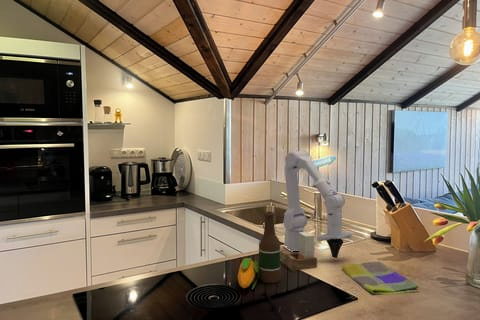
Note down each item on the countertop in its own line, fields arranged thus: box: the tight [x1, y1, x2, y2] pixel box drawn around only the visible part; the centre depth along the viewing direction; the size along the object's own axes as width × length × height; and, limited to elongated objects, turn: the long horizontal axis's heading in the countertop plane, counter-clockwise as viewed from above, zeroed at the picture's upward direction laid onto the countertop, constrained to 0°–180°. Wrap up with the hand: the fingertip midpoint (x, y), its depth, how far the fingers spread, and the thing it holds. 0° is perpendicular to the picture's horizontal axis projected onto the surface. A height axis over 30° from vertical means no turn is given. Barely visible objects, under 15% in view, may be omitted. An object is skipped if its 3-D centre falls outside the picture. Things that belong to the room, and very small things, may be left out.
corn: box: [237, 257, 259, 290], centre depth 126 cm, size 7×8×20 cm
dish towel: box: [341, 261, 420, 296], centre depth 128 cm, size 18×24×3 cm
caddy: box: [280, 249, 318, 272], centre depth 144 cm, size 12×10×4 cm
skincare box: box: [298, 231, 315, 259], centre depth 145 cm, size 6×4×12 cm
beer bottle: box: [258, 211, 282, 284], centre depth 129 cm, size 8×8×24 cm
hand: (334, 257), depth 148 cm, fingers closed
